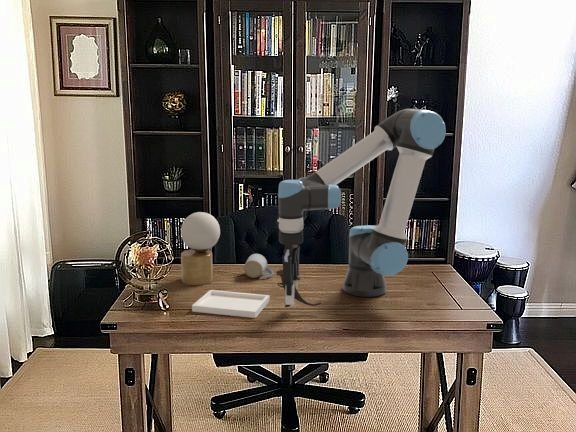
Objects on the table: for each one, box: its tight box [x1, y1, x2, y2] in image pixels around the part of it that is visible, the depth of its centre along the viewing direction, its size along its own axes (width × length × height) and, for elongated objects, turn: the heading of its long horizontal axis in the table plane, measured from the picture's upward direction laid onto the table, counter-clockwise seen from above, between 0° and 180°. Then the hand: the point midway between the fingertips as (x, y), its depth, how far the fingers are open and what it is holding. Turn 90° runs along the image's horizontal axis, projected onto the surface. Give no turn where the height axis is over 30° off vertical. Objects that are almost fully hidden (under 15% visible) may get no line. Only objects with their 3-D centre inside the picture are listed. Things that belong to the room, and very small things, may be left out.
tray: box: [191, 289, 271, 319], centre depth 207 cm, size 21×16×2 cm
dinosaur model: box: [275, 269, 322, 308], centre depth 201 cm, size 4×12×15 cm
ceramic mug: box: [243, 253, 274, 279], centre depth 239 cm, size 11×8×8 cm
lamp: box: [180, 211, 221, 286], centre depth 232 cm, size 15×14×25 cm
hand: (291, 302), depth 202 cm, fingers closed on dinosaur model, 3 cm apart
